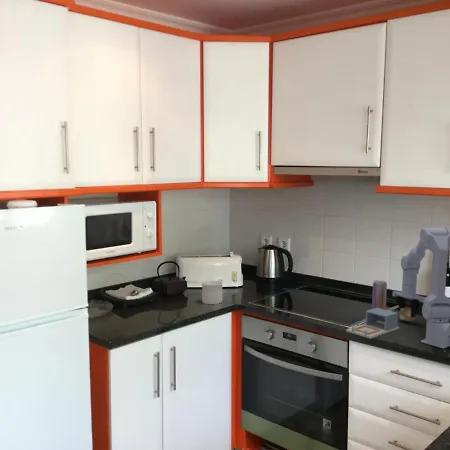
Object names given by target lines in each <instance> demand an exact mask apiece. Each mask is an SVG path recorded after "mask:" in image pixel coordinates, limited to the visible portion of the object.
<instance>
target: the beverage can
mask: <svg viewBox="0 0 450 450" xmlns="http://www.w3.org/2000/svg"><path fill="white" fill-rule="evenodd" d="M387 288H388V284H387V281H385V280H378V279H377V280H373V283H372V297H371V299H372V301H371V309H374V308H380V309H384V310H387V290H388V289H387Z"/></svg>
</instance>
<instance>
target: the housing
mask: <svg viewBox="0 0 450 450" xmlns="http://www.w3.org/2000/svg"><path fill="white" fill-rule="evenodd" d="M398 315H399V313H398V312H395V311H391V310H388V309H386V310H384V309H380V308H374V309H372V308H371V309H368V310H365V320H364V321H365V322H364V324H370V323H373V322H376V321H379V322H382V323H385V328H384V329H385V330H388V329H390V328H393V327H396V326H397V327H398V322H399V321H398V318H399V317H398Z"/></svg>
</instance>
